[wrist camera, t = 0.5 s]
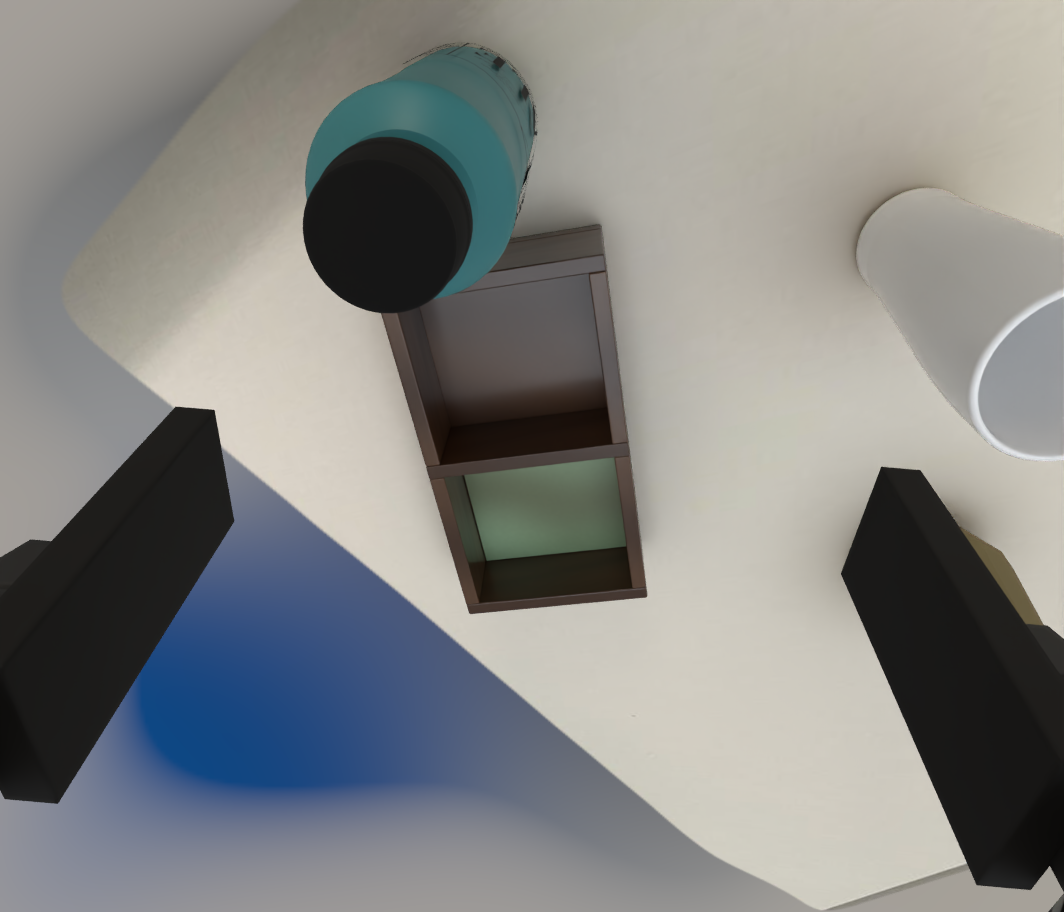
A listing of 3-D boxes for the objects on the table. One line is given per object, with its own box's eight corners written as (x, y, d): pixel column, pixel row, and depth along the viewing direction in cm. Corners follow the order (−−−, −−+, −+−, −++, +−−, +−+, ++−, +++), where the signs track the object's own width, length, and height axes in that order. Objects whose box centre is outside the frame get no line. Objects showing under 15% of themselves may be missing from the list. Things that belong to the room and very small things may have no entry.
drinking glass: (843, 177, 36) (987, 288, 23) (995, 159, 35) (1230, 263, 22) (832, 313, 39) (951, 473, 27) (970, 299, 39) (1161, 457, 26)
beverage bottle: (379, 148, 36) (207, 299, 19) (436, 5, 33) (289, 36, 16) (502, 215, 38) (441, 411, 21) (568, 84, 34) (560, 189, 17)
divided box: (394, 256, 39) (373, 289, 35) (601, 223, 38) (604, 254, 34) (478, 562, 50) (469, 614, 46) (641, 545, 48) (647, 597, 44)
